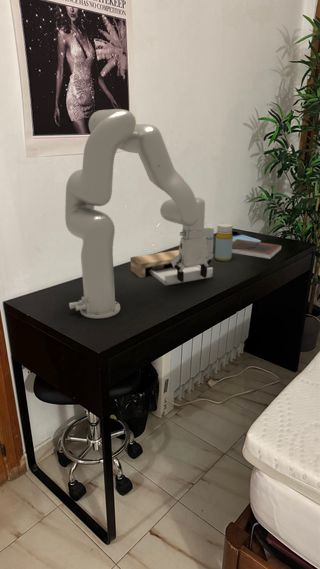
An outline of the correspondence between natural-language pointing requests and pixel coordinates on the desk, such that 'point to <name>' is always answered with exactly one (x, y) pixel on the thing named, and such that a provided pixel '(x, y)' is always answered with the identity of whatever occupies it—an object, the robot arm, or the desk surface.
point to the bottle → (223, 242)
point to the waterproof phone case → (245, 238)
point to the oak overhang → (152, 262)
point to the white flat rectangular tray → (171, 274)
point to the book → (255, 248)
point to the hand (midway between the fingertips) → (192, 278)
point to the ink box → (209, 236)
